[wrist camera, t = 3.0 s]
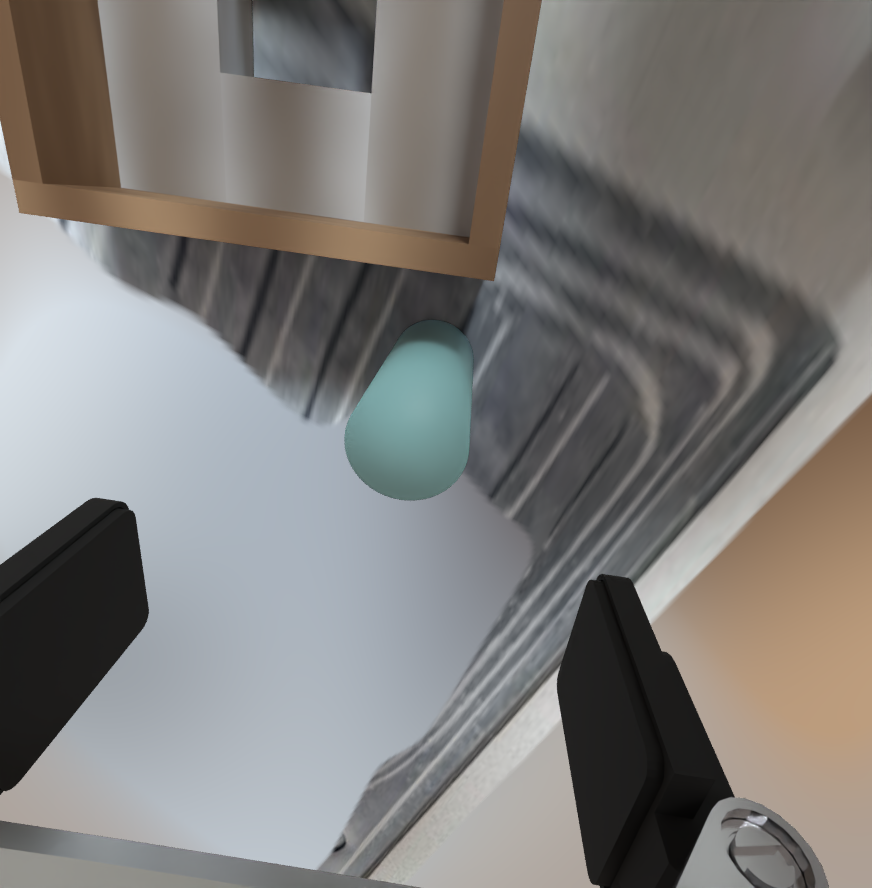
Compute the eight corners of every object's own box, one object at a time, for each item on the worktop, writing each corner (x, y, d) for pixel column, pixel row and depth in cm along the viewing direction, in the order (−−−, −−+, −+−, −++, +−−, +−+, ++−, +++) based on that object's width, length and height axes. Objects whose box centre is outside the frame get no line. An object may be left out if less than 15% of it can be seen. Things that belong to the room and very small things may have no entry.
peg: (479, 326, 24) (478, 397, 15) (466, 403, 26) (459, 508, 17) (397, 314, 24) (347, 377, 15) (389, 392, 26) (341, 490, 17)
